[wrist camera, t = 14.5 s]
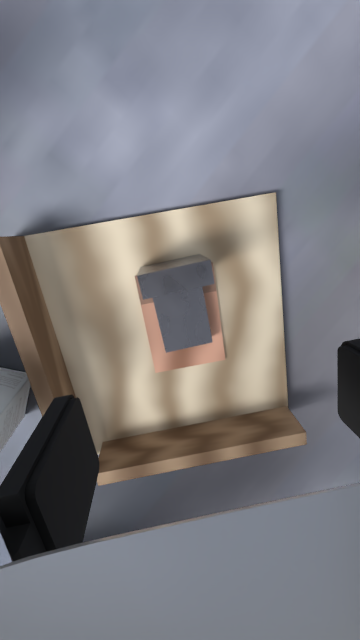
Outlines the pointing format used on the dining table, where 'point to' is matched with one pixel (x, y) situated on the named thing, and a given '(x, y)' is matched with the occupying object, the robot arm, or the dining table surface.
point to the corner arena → (156, 336)
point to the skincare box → (12, 401)
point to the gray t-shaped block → (179, 299)
